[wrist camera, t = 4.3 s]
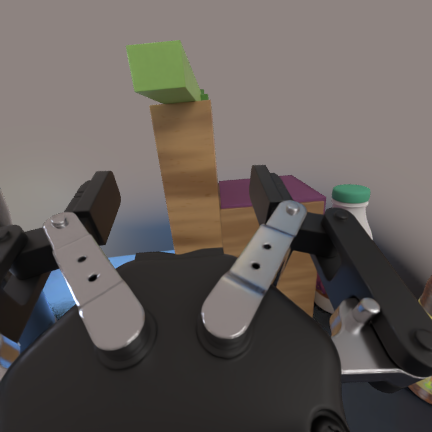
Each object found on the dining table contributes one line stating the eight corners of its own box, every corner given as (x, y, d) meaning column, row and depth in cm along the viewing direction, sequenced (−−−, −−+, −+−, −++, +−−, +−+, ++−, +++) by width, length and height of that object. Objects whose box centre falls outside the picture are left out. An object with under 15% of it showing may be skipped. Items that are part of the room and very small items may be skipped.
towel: (318, 270, 30) (326, 197, 26) (226, 276, 30) (221, 205, 26) (289, 229, 41) (291, 174, 37) (223, 234, 41) (218, 181, 38)
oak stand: (311, 333, 33) (336, 88, 21) (190, 341, 34) (148, 105, 22) (285, 278, 45) (292, 101, 33) (196, 284, 46) (172, 112, 34)
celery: (201, 85, 14) (196, 29, 13) (111, 94, 14) (99, 39, 13) (209, 111, 39) (208, 92, 38) (177, 114, 39) (175, 95, 38)
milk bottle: (356, 289, 41) (377, 181, 33) (365, 322, 34) (393, 196, 27) (310, 282, 44) (320, 180, 36) (310, 311, 37) (322, 194, 30)
